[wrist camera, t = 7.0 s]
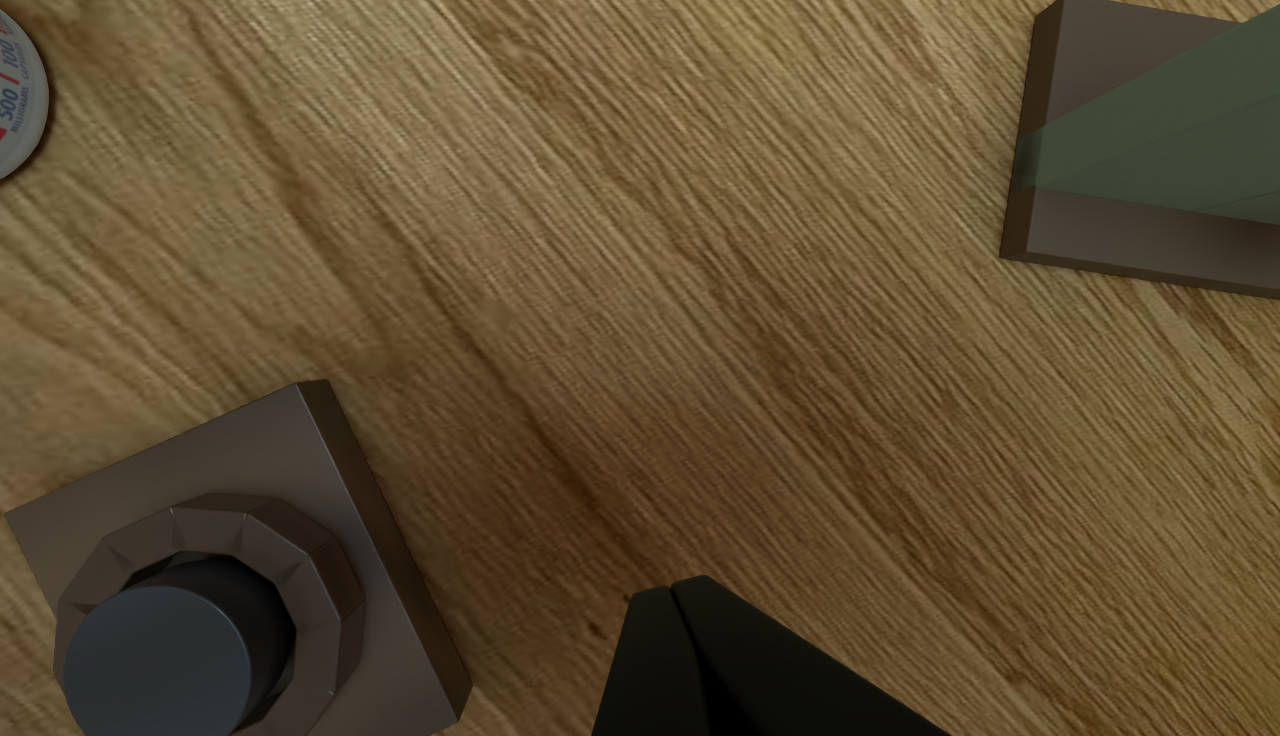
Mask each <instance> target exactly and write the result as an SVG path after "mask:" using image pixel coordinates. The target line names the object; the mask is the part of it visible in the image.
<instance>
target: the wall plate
mask: <svg viewBox="0 0 1280 736" xmlns="http://www.w3.org/2000/svg"><path fill="white" fill-rule="evenodd" d="M1000 258H1004V259H1011V260H1018V261H1024V262H1031V263H1038V264H1044V265H1051V266H1058V267H1064V268H1071V269H1078V270H1084V271H1091V272H1098V273H1104V274H1111V275H1118V276H1124V277H1131V278H1138V279H1145V280H1151V281H1158V282H1165V283H1171V284H1178V285H1185V286H1191V287H1198V288H1205V289H1211V290H1218V291H1225V292H1231V293H1238V294H1245V295H1252V296H1258V297H1265V298H1272V299H1278V300H1280V4H1279V5H1277V6H1275V7H1273V8H1271V9H1269V10H1267V11H1265V12H1263V13H1261V14H1259V15H1257V16H1255V17H1254V18H1252V19H1250V20H1248V21H1246V22H1244V23H1239V22H1233V21H1227V20H1221V19H1215V18H1209V17H1203V16H1197V15H1191V14H1185V13H1180V12H1174V11H1168V10H1162V9H1156V8H1150V7H1144V6H1138V5H1132V4H1126V3H1121V2H1115V1H1109V0H1056V1H1055V2H1054V3H1052V4H1051V5H1050V6H1048V7H1047V8H1046V9H1045V10H1043V11H1042V12H1041V13H1039V14H1038V15H1037V16H1036V21H1035V27H1034V34H1033V41H1032V47H1031V54H1030V61H1029V67H1028V74H1027V81H1026V87H1025V94H1024V101H1023V107H1022V114H1021V121H1020V127H1019V134H1018V140H1017V147H1016V154H1015V160H1014V167H1013V174H1012V180H1011V187H1010V194H1009V200H1008V207H1007V214H1006V220H1005V227H1004V234H1003V240H1002V247H1001V254H1000Z"/></svg>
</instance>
